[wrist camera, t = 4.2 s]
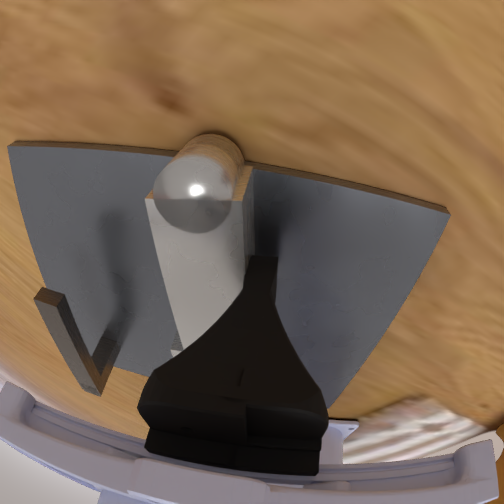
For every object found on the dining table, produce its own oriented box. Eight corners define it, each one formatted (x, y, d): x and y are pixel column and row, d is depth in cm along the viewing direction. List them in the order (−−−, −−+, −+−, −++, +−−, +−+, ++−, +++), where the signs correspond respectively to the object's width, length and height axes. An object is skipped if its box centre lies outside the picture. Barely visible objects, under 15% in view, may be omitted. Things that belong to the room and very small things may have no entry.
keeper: (121, 351, 20) (101, 397, 17) (103, 346, 20) (83, 390, 17) (94, 252, 15) (56, 306, 12) (72, 247, 15) (33, 298, 12)
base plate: (328, 401, 22) (328, 408, 22) (79, 348, 22) (76, 353, 22) (445, 207, 11) (450, 214, 11) (14, 141, 12) (7, 146, 11)
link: (268, 364, 18) (264, 402, 16) (196, 356, 19) (186, 392, 17) (273, 134, 10) (266, 162, 8) (151, 136, 11) (117, 164, 9)
